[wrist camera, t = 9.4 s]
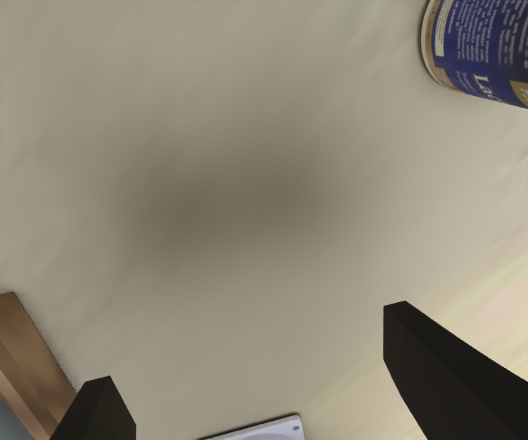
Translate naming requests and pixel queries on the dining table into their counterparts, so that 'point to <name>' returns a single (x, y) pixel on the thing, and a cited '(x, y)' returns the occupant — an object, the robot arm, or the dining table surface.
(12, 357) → the brown wooden tray
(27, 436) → the blue-grey rectangular block
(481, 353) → the robot arm
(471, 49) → the pill bottle
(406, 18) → the dining table surface
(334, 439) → the dining table surface
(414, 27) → the dining table surface
